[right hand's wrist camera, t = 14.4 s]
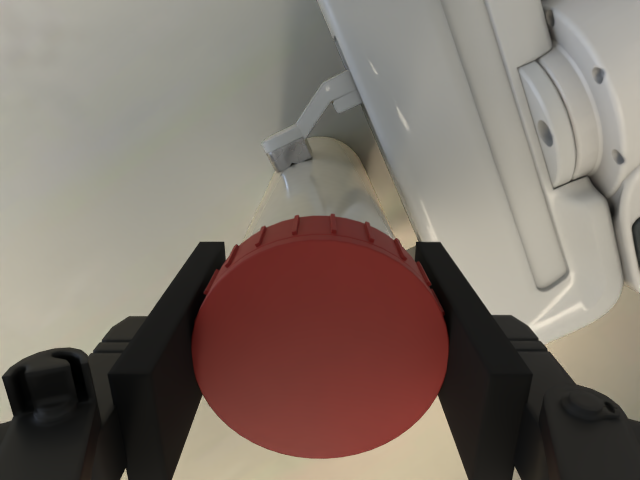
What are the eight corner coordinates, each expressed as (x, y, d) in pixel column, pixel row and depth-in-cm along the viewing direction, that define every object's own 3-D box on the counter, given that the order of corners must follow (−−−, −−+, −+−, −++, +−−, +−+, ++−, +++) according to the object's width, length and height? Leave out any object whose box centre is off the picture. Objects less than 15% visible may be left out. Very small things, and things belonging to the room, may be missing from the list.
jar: (255, 171, 27) (159, 322, 11) (332, 117, 26) (353, 194, 10) (308, 242, 29) (294, 467, 12) (383, 194, 27) (473, 371, 11)
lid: (237, 426, 13) (226, 476, 12) (176, 235, 11) (152, 263, 10) (444, 396, 13) (462, 443, 11) (421, 191, 11) (439, 212, 9)
